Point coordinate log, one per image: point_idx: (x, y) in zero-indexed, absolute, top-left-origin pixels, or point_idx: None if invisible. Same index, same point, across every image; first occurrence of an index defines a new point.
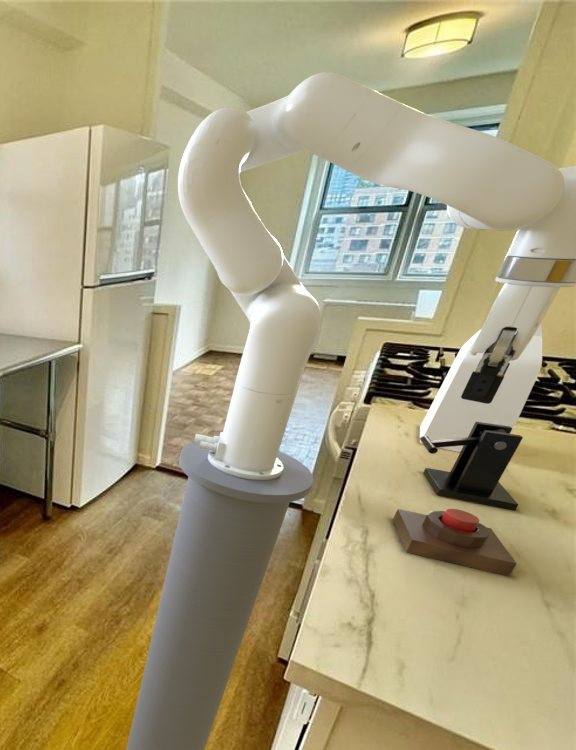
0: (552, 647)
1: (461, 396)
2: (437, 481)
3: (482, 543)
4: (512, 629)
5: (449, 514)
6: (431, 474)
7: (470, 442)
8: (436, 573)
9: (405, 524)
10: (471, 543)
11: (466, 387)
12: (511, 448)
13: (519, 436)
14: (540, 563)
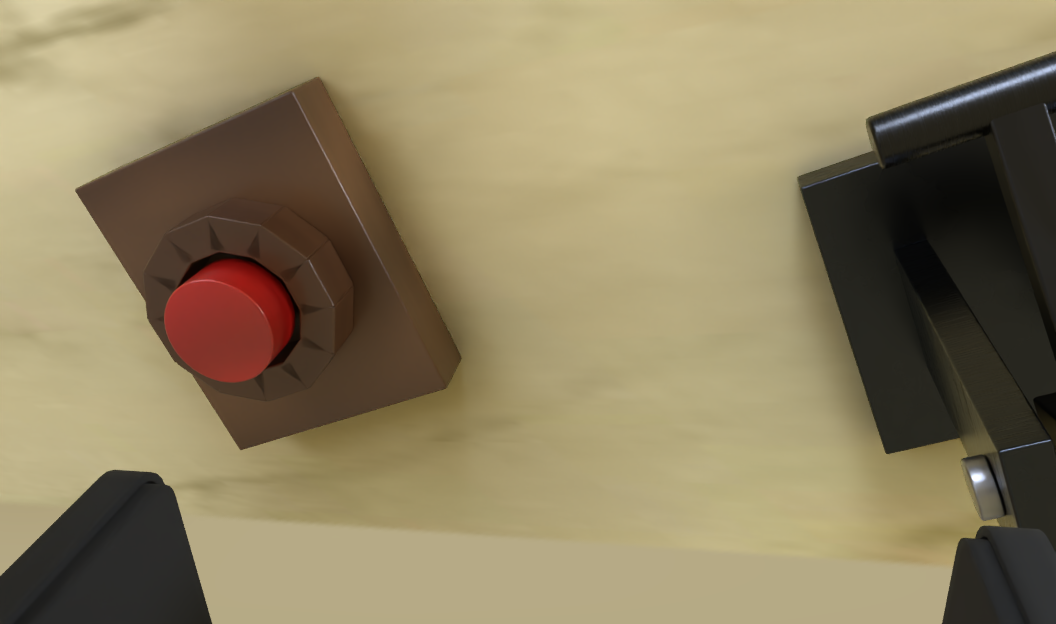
0: (19, 485)
1: (107, 475)
2: (920, 162)
3: None
4: (2, 425)
5: (179, 295)
6: None
7: (1049, 337)
8: (78, 264)
9: (170, 147)
10: None
11: (25, 560)
12: None
13: None
14: (445, 484)
